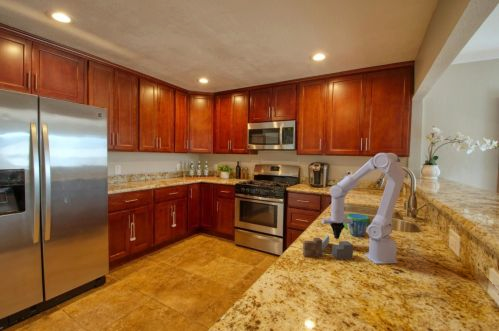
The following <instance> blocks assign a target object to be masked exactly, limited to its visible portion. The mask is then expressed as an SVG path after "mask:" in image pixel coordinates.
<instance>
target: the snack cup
mask: <svg viewBox="0 0 499 331" xmlns="http://www.w3.org/2000/svg"><path fill="white" fill-rule="evenodd" d="M346 218H350V219H352V220H353V223H352V224H350V223H343V224H344V225H345V227H344V228H343V229H345V230H346V231H348V230H349V233H350V235H351V236H356V237H363V236H365V235H366V233H367V228H368V226H369V225H370V224H371V223H372V221H371V219H370V217H369V216H368V215H366V214H363V213H362V214H361V213H356V212H355V213H348V214H347V215H346Z"/></svg>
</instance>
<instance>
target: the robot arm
mask: <svg viewBox="0 0 499 331" xmlns="http://www.w3.org/2000/svg"><path fill="white" fill-rule="evenodd" d="M375 170H378V171H381V172H382V173H383V174H384V175H385V177H386V178H387V180H386V183H385V187H384V189H383V193H382V196H381V200H380V202H379V207H378V209H377V212H376V215H375V216H374V218H373V219H372V221H371V224H370V225H369V226H368V227H366V233H367V235H368V236H369V237H368V238H369V241H368V242H369V243H368V253H364V254H363V256H365V257H366V258H368V259H369V260H370V261H371V262H372V263H374V264H375V265H383V264H384V265H385V264H398V261H397V248H398V246H397V243H396V241H395V239H393V238H392V237H390V235H391V234H392V232H393V219H392V217H393V214H394V212H395V208H396V205H397V202H398V199H399V197H400V193H401V190H402V187H403V184H404V181H405V177H406V176H405V171H404V169H403V166H402V159H401V158H400V157H399V156H398V155H397V154H395V153H393V152H387V153H386V152H379V153H376V154H375V155H374V156H373V157H371V158H369V160H368V161H367V162H365V163H364V165H363V166H361V167H360V168H359V169H358V170H356V171H355V172H354V173H353V174H348V175H347V174H346V175H344V176H343V177H344V178H343V179H342V180H340V181H337V182H336V185H332V186H331V187H330V188H329V195H330V196H331V206H330V207H331V208H330V210H331V212H330V217H329V218H322V219H321V224H323V225H326V224H329V225H330V227H331V229H332V232H333V238H335V240H339V239H340V236H341V234H342V231H343V229H345V228H344V227H345V225H344V223H347V224H348V223H350V224H352V223H353V220H352V219H350V218H347V217H345V201H346V200H345V199H346V196H347V195H348V193H349V192H350V191H351V190H354V188H356V186H358V185H359V181H361V179H363V178H364V177H366V176H367V175H368V174H369V173H371V172H373V171H375Z"/></svg>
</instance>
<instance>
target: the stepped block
mask: <svg viewBox="0 0 499 331" xmlns="http://www.w3.org/2000/svg"><path fill="white" fill-rule="evenodd" d="M331 246H332V247H331V252H332V253H331V256H333V258H334V259H336V260H353V256H354V255H353V254H354V244H353V243H351V242H350V241H348V240H344V241H343V240H341V241H340V240H339V242H338V244H332V245H331Z"/></svg>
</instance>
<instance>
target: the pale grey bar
mask: <svg viewBox="0 0 499 331" xmlns="http://www.w3.org/2000/svg"><path fill="white" fill-rule="evenodd" d="M321 240H322V252H324V250H325V249H326V248H327V246H328V245H329V243H330V235H329V234H327V235H325V237H323V239H321Z"/></svg>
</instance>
